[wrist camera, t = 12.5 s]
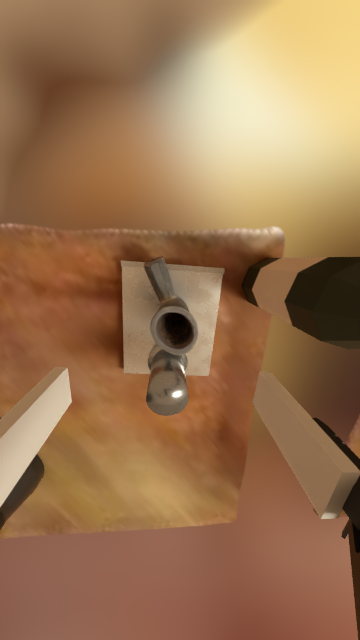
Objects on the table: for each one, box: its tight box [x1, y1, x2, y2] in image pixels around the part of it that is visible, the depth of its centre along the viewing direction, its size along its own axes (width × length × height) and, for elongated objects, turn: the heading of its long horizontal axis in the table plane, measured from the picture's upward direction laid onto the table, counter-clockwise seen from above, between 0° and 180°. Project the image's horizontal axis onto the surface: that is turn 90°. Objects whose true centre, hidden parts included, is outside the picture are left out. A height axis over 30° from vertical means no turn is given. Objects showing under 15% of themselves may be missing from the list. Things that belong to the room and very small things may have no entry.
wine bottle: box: [242, 257, 360, 349], centre depth 18 cm, size 8×8×30 cm
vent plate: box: [121, 260, 225, 416], centre depth 28 cm, size 16×21×11 cm
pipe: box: [144, 257, 198, 355], centre depth 27 cm, size 6×13×8 cm, turn 20°
